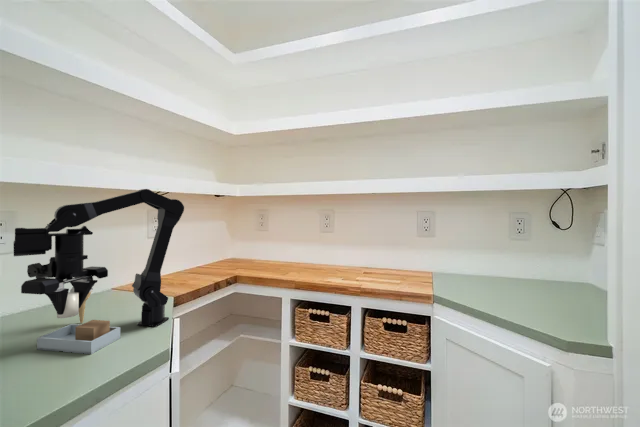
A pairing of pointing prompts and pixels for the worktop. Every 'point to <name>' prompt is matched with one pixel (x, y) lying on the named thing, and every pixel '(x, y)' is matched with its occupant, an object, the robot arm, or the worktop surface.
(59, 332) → the grey blue tray
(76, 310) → the cream cylinder
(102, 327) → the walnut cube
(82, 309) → the ice cream cone
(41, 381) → the worktop surface
